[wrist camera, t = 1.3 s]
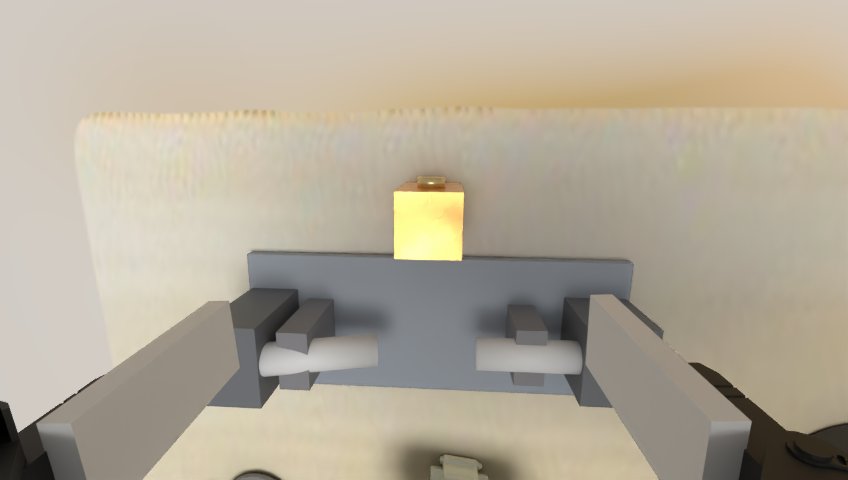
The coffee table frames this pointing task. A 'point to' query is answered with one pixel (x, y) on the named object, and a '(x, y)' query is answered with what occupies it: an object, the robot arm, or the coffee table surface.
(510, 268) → the shaft rig
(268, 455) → the coffee table surface
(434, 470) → the pneumatic valve
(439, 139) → the coffee table surface
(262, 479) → the pocket watch
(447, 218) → the universal joint coupler
